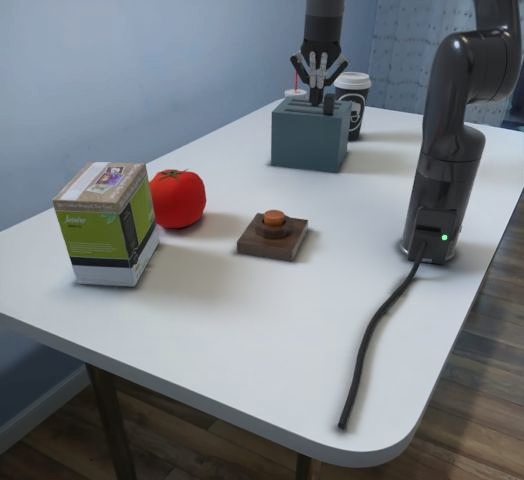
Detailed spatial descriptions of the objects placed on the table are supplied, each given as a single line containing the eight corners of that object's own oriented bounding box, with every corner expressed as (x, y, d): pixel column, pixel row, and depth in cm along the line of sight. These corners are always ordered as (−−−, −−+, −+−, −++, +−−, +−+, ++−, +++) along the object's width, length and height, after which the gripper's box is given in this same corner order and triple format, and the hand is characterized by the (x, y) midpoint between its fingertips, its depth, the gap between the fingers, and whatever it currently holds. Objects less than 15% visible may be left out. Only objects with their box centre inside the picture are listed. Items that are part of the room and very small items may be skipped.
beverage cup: (305, 129, 139) (309, 74, 130) (284, 129, 139) (285, 74, 130) (304, 122, 144) (307, 68, 135) (283, 122, 144) (284, 68, 135)
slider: (331, 114, 109) (333, 97, 106) (322, 113, 109) (324, 96, 107) (334, 110, 111) (335, 93, 108) (325, 110, 111) (326, 93, 109)
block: (291, 261, 85) (292, 240, 82) (237, 253, 87) (236, 232, 85) (307, 230, 94) (308, 210, 91) (257, 223, 96) (257, 203, 93)
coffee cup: (371, 137, 134) (380, 75, 125) (349, 145, 130) (356, 82, 120) (344, 129, 140) (350, 69, 130) (321, 136, 135) (326, 75, 125)
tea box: (107, 239, 91) (89, 158, 81) (160, 243, 90) (148, 161, 80) (75, 285, 79) (49, 197, 70) (135, 289, 79) (118, 200, 69)
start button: (281, 229, 86) (281, 219, 85) (261, 226, 87) (261, 217, 86) (286, 220, 89) (286, 211, 88) (267, 217, 90) (267, 208, 89)
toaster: (336, 172, 115) (342, 117, 107) (270, 165, 119) (271, 111, 111) (346, 152, 126) (352, 101, 118) (285, 146, 129) (287, 95, 121)
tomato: (221, 221, 96) (218, 168, 90) (167, 243, 90) (159, 188, 83) (187, 203, 103) (182, 152, 96) (134, 222, 96) (124, 169, 89)
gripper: (287, 11, 97) (282, 106, 108) (354, 17, 94) (342, 113, 106) (296, 6, 102) (290, 97, 114) (360, 12, 100) (347, 104, 111)
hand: (315, 105), depth 110 cm, fingers closed
